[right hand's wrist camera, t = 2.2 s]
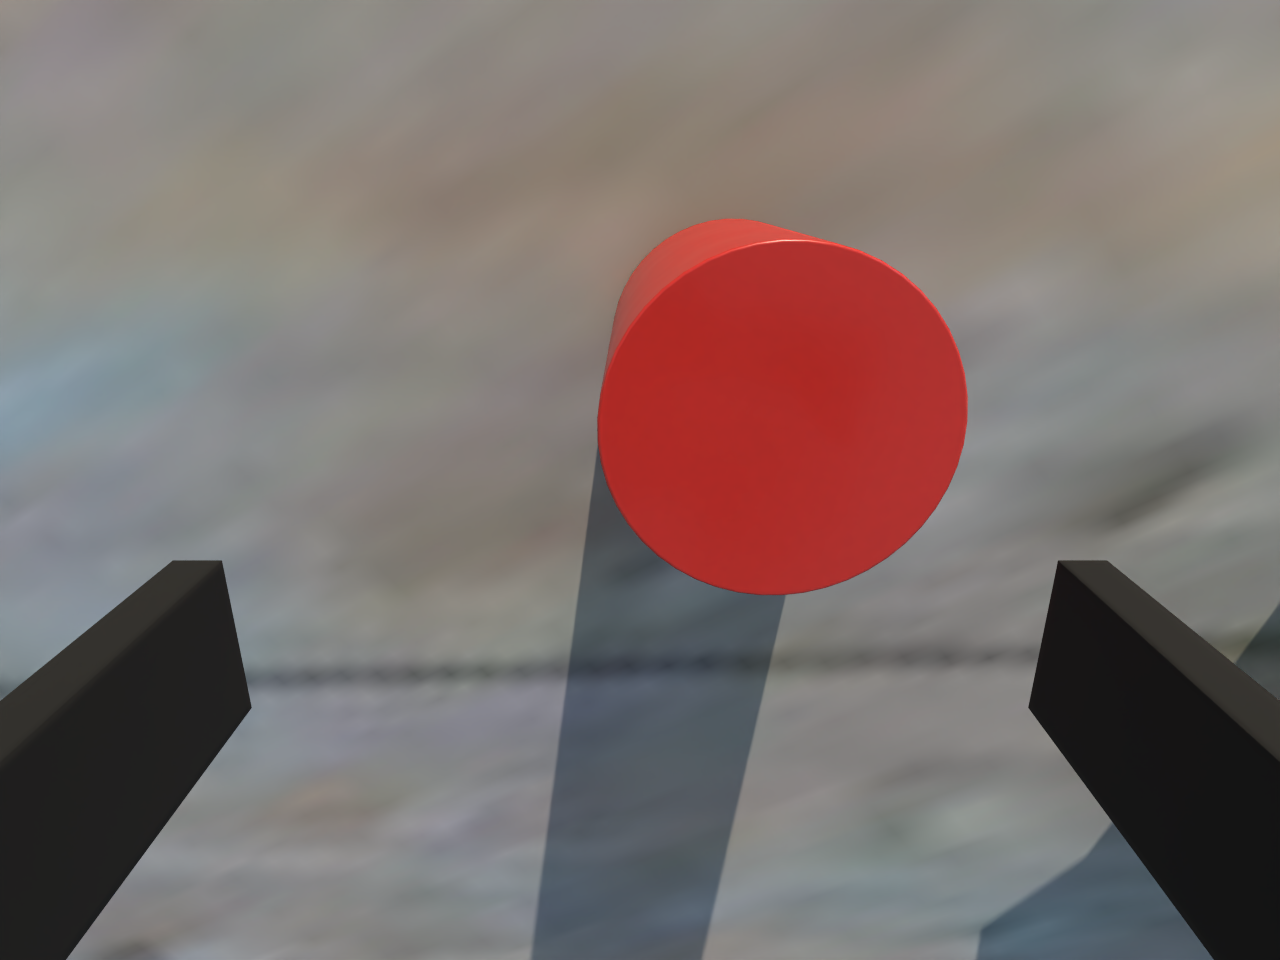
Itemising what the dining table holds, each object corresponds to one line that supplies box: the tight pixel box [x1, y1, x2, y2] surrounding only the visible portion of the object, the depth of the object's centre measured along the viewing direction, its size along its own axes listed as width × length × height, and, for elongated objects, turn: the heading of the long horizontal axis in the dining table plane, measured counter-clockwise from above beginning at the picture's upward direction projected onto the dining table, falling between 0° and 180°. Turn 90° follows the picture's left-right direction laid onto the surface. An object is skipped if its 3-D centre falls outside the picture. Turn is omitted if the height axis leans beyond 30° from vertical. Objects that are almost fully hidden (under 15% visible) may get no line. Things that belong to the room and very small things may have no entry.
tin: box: [597, 219, 968, 595], centre depth 25 cm, size 9×9×12 cm
